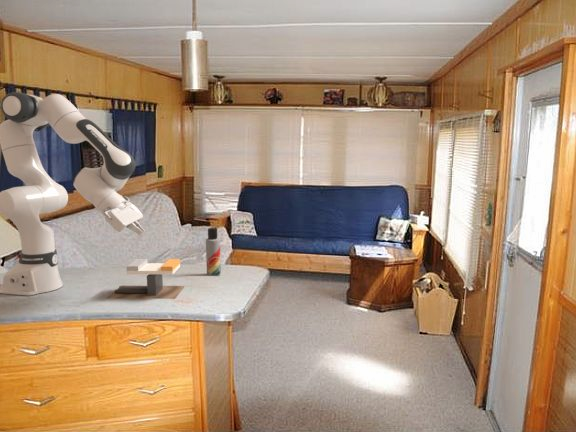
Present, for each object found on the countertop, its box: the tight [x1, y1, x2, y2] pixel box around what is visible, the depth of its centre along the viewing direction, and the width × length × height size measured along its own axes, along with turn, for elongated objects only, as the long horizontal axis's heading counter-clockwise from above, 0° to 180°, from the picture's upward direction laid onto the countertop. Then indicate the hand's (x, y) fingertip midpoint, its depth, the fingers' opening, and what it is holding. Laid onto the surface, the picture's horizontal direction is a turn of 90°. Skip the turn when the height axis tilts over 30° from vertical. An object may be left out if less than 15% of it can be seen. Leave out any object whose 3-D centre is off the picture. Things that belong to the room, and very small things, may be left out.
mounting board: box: [106, 284, 186, 300], centre depth 175 cm, size 24×14×2 cm, turn 87°
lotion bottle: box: [205, 226, 222, 277], centre depth 199 cm, size 6×6×20 cm
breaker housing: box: [146, 274, 164, 296], centre depth 175 cm, size 3×8×7 cm, turn 178°
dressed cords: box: [114, 285, 148, 294], centre depth 175 cm, size 12×5×1 cm, turn 87°
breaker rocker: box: [126, 258, 181, 275], centre depth 174 cm, size 16×10×3 cm, turn 87°
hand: (142, 233), depth 172 cm, fingers closed
